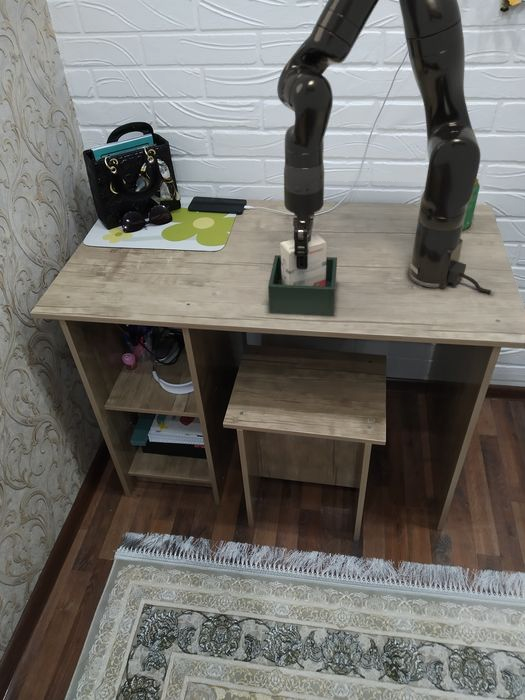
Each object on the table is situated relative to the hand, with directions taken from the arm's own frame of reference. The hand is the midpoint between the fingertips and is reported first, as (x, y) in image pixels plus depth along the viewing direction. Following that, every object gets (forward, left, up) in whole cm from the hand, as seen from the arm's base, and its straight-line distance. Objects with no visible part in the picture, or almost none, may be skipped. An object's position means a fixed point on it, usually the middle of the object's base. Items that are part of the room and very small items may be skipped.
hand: (303, 257), depth 118 cm
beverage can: (-14, -47, -10) cm, 50 cm away
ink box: (0, 0, -8) cm, 8 cm away
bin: (0, 0, -10) cm, 10 cm away
